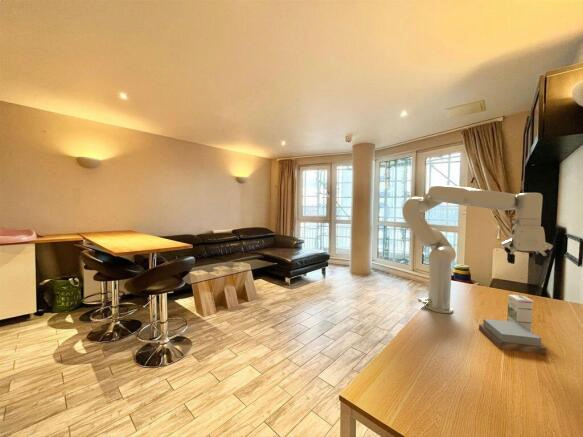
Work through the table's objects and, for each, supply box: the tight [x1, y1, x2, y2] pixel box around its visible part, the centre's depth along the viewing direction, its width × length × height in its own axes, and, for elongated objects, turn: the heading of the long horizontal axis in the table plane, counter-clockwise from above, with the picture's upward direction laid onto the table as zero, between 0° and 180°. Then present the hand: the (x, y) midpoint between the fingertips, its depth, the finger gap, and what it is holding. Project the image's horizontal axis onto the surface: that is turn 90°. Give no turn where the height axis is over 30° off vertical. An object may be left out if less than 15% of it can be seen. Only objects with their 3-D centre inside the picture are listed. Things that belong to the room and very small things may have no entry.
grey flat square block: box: [478, 323, 547, 355], centre depth 92 cm, size 14×14×3 cm
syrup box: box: [506, 294, 534, 332], centre depth 100 cm, size 6×6×14 cm
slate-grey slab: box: [482, 318, 542, 346], centre depth 92 cm, size 12×12×3 cm
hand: (524, 263), depth 98 cm, fingers open, 9 cm apart
